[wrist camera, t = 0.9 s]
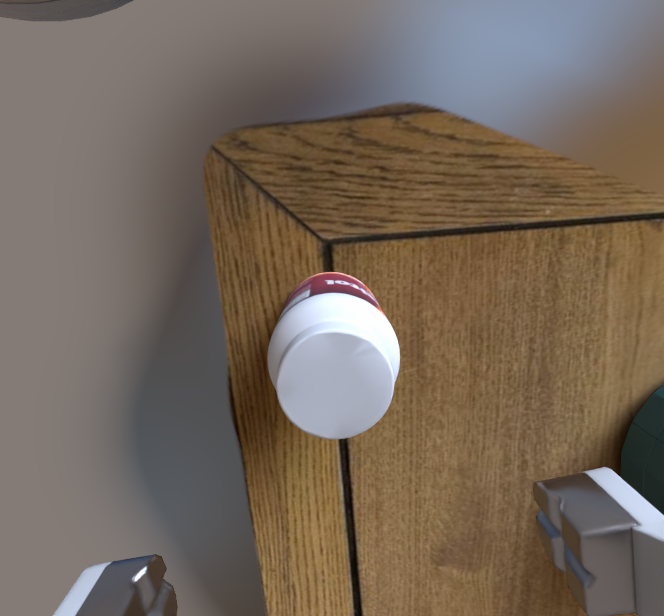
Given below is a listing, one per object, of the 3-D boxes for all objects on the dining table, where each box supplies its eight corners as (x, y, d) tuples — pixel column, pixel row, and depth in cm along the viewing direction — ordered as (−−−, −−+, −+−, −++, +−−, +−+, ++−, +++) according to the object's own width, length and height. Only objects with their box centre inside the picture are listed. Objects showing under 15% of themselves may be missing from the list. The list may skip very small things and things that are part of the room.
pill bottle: (398, 312, 27) (448, 380, 16) (335, 380, 28) (343, 486, 17) (325, 249, 26) (328, 277, 15) (263, 321, 27) (224, 396, 16)
